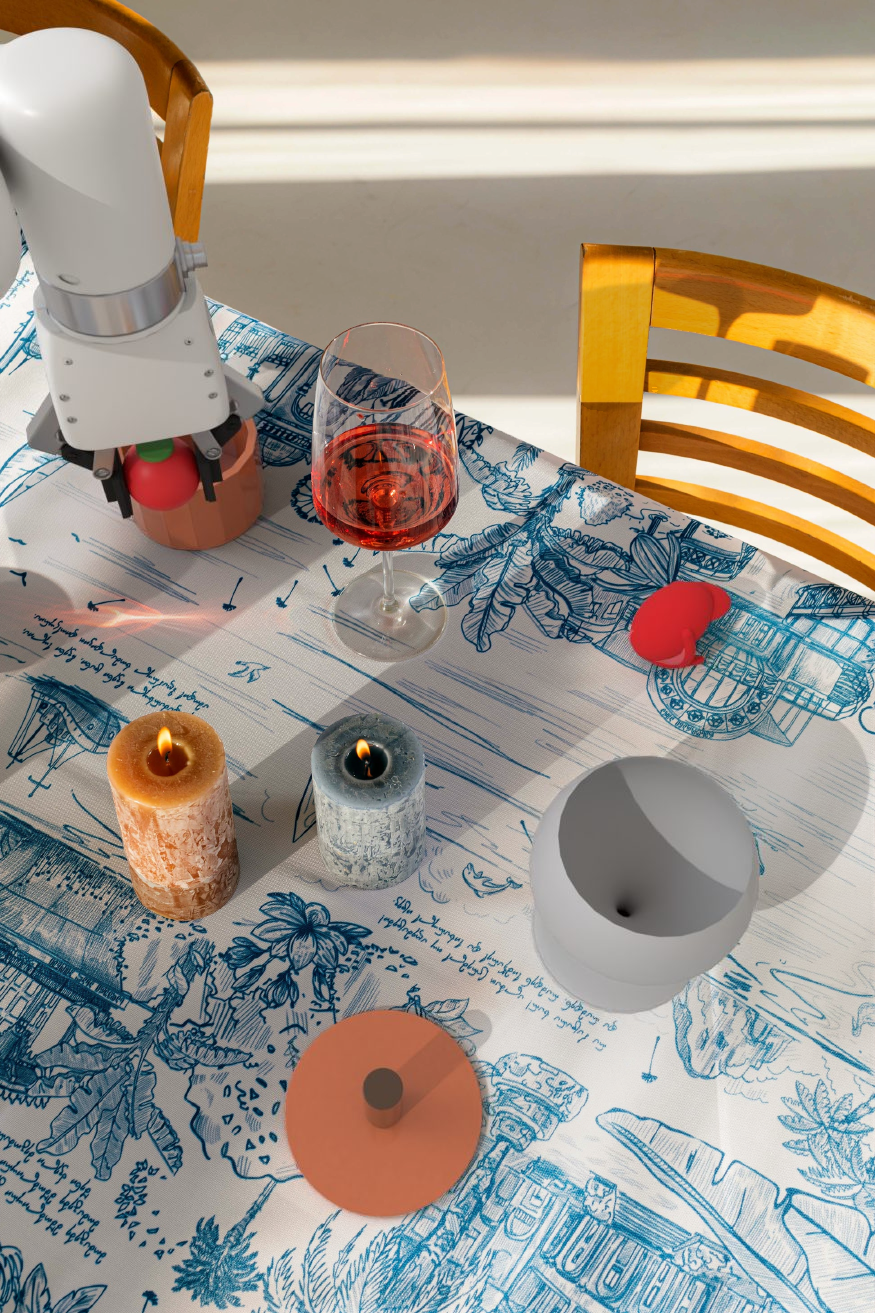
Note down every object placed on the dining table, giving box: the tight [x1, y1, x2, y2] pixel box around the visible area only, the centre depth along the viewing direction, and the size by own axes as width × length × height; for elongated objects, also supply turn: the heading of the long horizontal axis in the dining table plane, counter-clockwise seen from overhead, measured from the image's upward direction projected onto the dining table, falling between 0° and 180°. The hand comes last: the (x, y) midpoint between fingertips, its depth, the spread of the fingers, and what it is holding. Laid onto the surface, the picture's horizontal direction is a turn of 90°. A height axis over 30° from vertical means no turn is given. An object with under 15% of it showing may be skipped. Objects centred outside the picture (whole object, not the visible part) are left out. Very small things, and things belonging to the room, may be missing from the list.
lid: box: [283, 1009, 483, 1218], centre depth 73 cm, size 12×12×7 cm
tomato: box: [122, 437, 200, 511], centre depth 78 cm, size 5×5×5 cm
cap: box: [627, 580, 732, 670], centre depth 93 cm, size 8×6×6 cm
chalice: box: [528, 755, 761, 1015], centre depth 76 cm, size 14×14×15 cm
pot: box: [117, 397, 266, 551], centre depth 99 cm, size 11×11×8 cm
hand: (166, 492), depth 80 cm, fingers closed on tomato, 4 cm apart
